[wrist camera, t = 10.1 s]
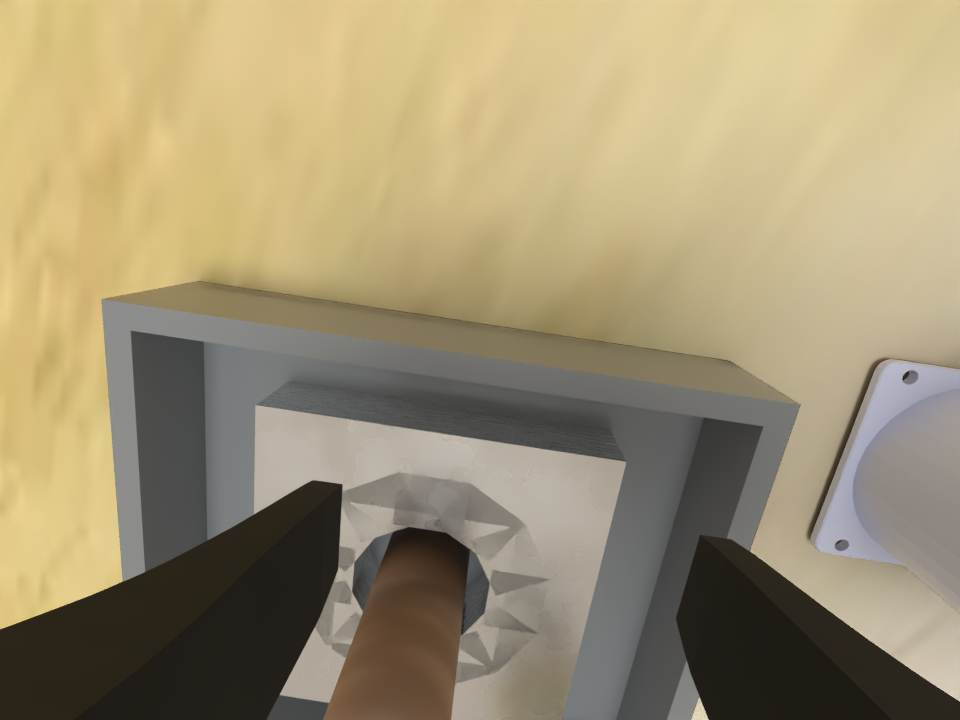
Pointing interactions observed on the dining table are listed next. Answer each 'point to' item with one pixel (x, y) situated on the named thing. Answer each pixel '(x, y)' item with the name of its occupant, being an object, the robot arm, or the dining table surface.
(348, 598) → the bored plate
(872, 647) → the robot arm
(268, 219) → the dining table surface
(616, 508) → the open box
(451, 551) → the peg
